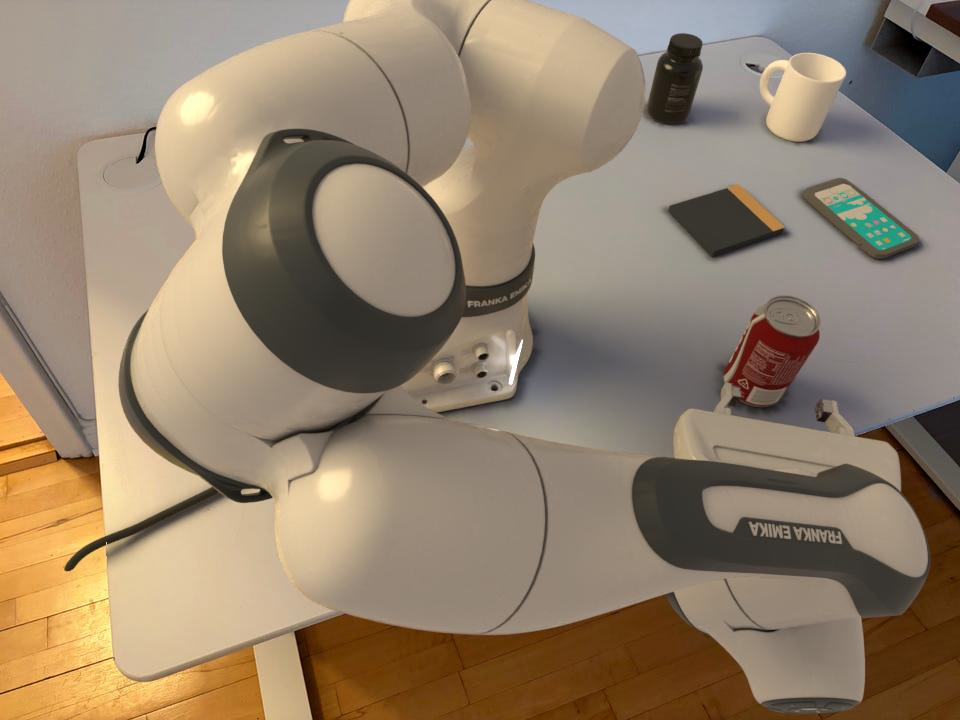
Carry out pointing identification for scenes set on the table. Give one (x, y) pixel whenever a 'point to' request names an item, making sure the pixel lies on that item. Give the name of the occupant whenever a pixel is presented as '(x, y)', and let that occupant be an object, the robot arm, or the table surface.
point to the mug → (801, 94)
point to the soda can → (773, 349)
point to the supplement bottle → (676, 80)
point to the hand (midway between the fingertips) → (777, 394)
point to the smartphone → (861, 218)
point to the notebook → (725, 220)
